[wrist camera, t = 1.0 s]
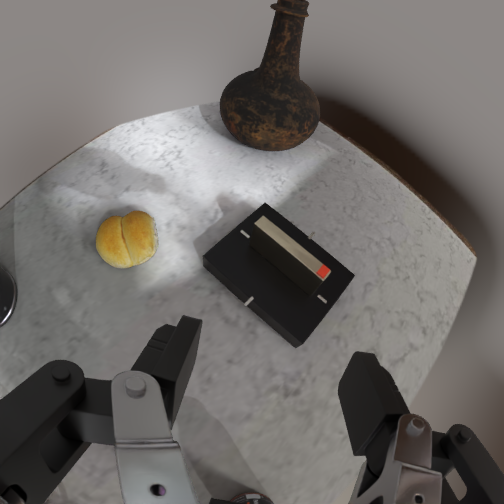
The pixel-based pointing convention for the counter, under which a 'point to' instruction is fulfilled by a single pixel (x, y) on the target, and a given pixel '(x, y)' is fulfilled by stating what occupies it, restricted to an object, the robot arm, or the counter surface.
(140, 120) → the counter surface
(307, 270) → the red-tipped beige bar
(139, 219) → the bread roll
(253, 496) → the supplement bottle
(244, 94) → the brown mottled bulbous container
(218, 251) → the black square dial panel
